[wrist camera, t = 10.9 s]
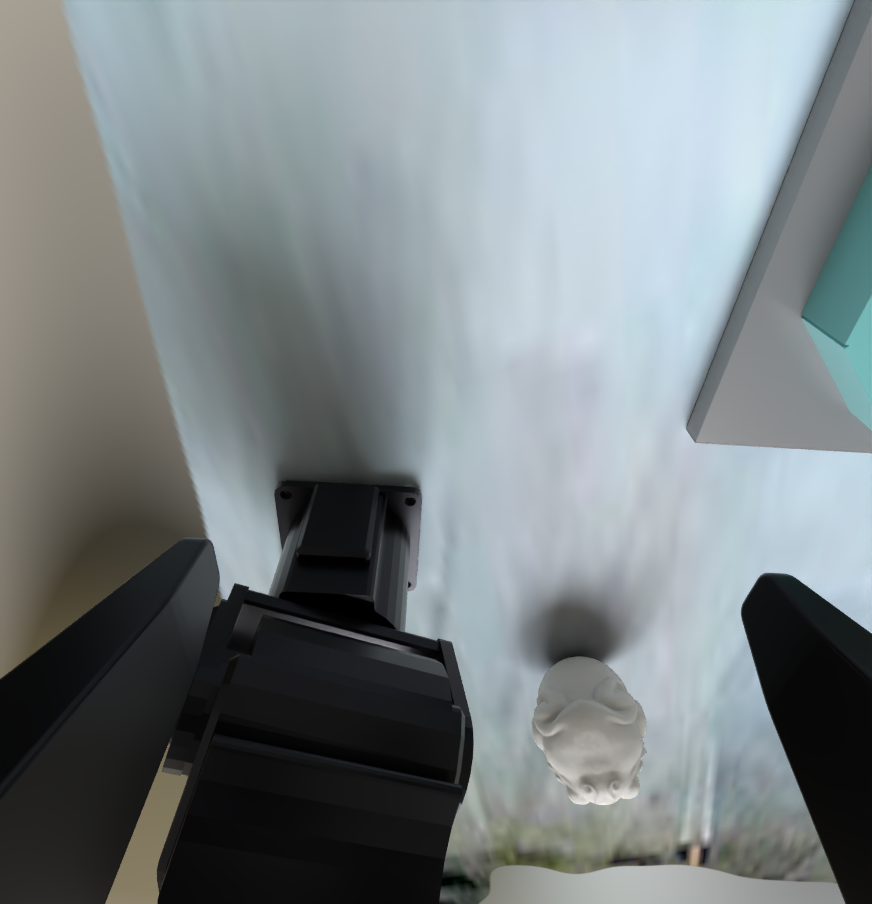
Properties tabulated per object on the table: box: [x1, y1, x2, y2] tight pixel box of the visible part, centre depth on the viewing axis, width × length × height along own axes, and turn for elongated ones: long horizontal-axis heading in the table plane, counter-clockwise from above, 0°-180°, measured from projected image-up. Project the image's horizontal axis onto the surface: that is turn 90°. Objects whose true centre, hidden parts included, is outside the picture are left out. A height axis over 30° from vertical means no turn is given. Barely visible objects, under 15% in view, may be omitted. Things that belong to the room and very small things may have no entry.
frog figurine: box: [532, 656, 647, 805], centre depth 30 cm, size 6×7×7 cm
